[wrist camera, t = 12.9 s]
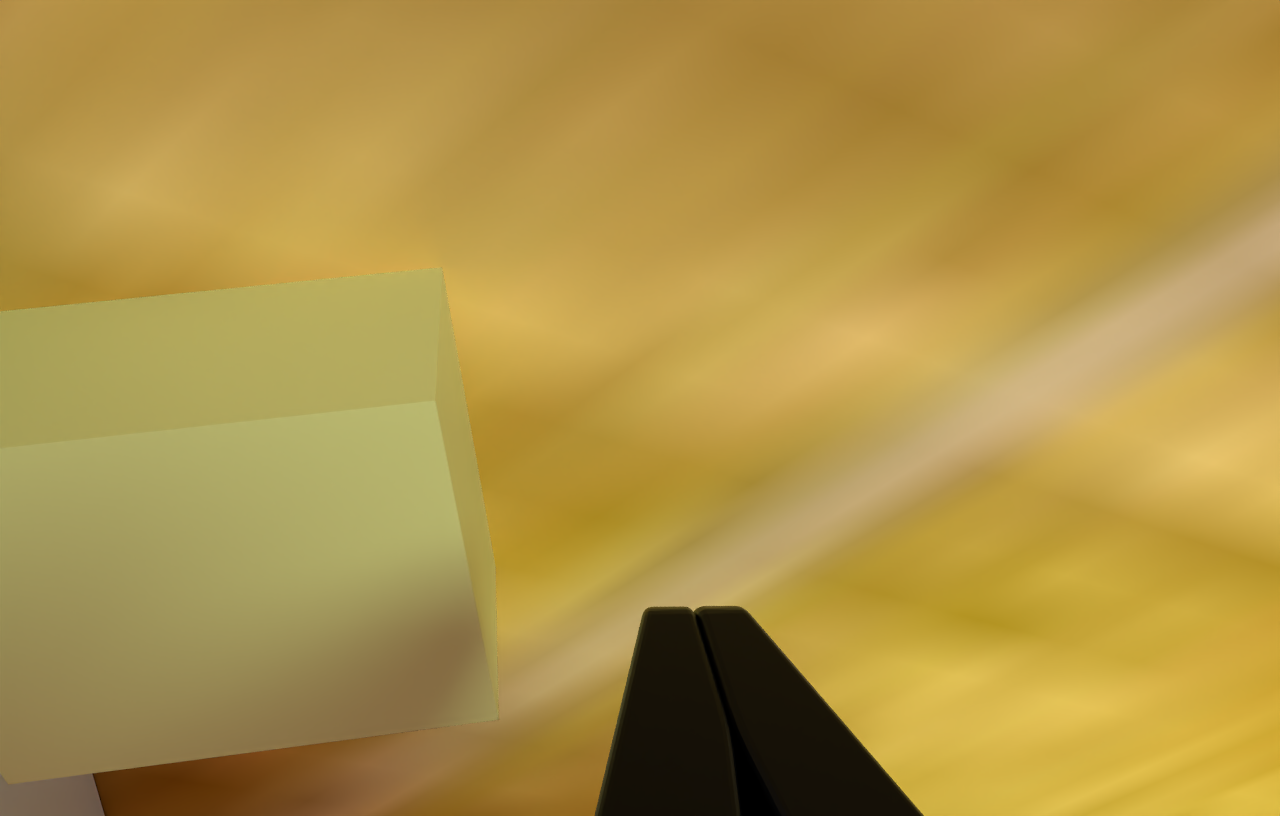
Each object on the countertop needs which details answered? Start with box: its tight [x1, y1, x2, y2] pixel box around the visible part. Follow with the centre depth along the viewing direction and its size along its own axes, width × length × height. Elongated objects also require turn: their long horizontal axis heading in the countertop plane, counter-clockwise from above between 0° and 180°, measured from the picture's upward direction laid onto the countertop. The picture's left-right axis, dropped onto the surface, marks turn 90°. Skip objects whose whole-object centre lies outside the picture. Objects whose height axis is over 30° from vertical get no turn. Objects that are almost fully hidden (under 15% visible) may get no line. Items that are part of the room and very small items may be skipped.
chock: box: [0, 267, 499, 784], centre depth 13 cm, size 5×6×3 cm
